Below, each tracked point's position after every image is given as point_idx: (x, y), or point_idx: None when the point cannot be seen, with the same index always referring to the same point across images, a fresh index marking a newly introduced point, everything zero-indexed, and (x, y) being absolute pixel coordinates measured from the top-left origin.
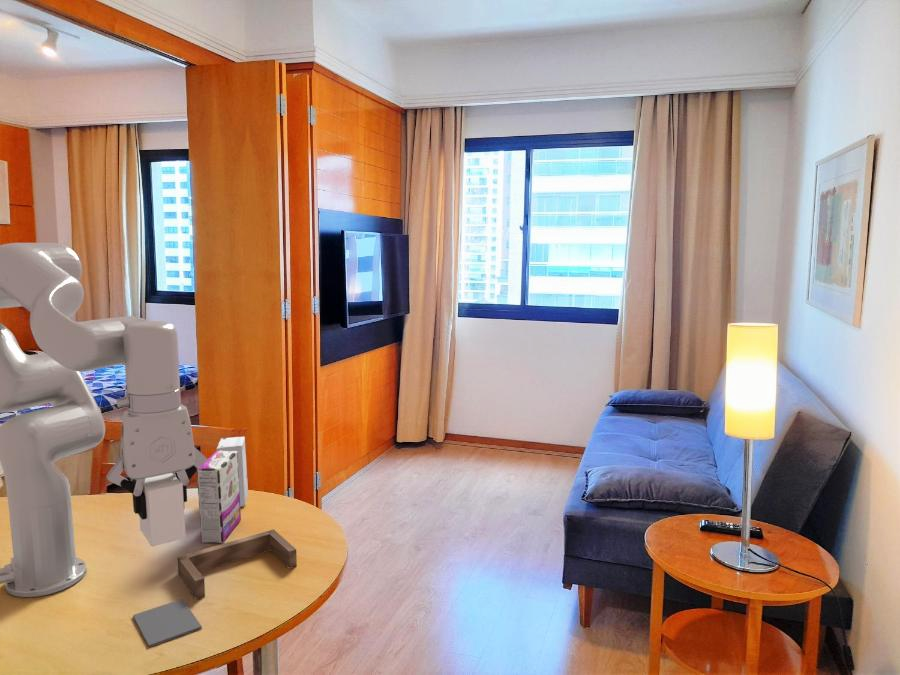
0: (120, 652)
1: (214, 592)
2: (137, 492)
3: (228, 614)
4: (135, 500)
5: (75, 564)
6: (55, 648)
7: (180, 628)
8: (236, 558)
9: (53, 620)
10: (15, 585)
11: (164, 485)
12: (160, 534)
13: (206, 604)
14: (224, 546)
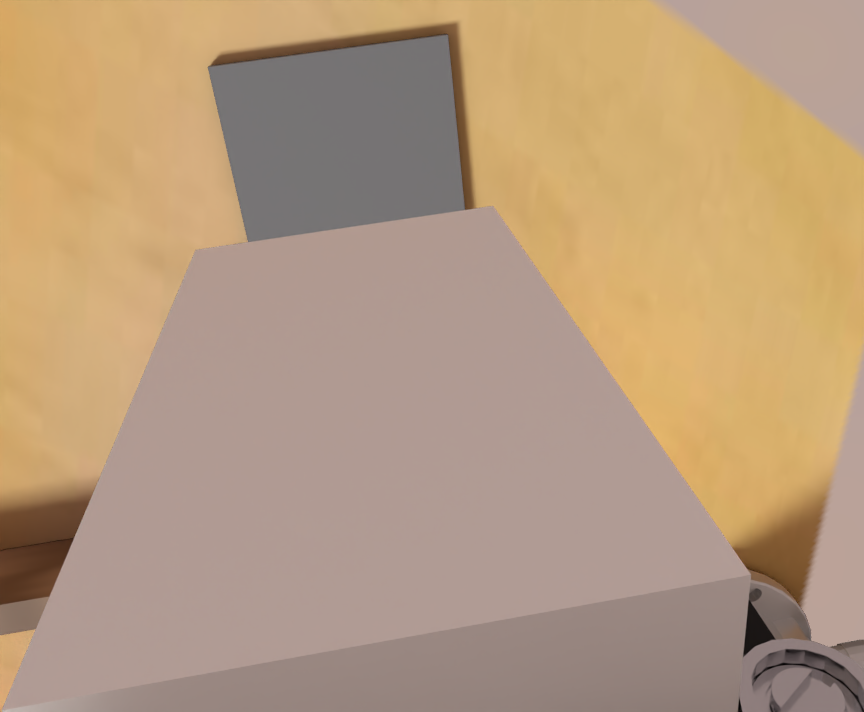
0: (555, 63)
1: (130, 341)
2: (804, 696)
3: (74, 125)
4: (753, 614)
5: None
6: (751, 224)
7: (303, 101)
8: (12, 554)
9: (719, 408)
10: (799, 626)
11: None
12: (427, 247)
13: (172, 260)
14: (43, 603)
